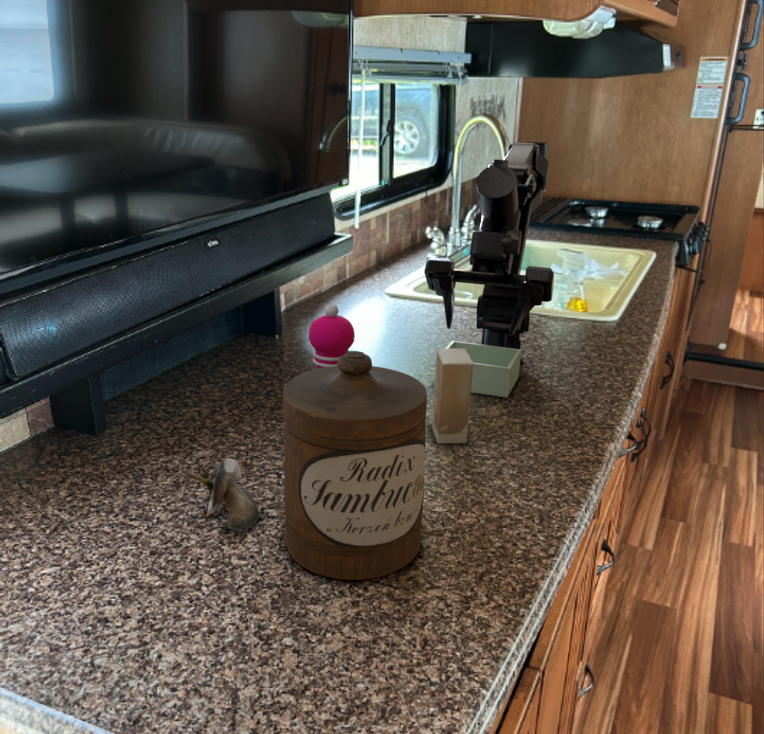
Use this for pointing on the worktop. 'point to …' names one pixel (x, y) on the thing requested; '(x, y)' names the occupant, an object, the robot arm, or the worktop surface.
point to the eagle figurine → (229, 495)
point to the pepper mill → (330, 337)
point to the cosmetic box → (452, 395)
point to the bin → (491, 367)
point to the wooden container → (354, 468)
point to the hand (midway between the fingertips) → (479, 331)
